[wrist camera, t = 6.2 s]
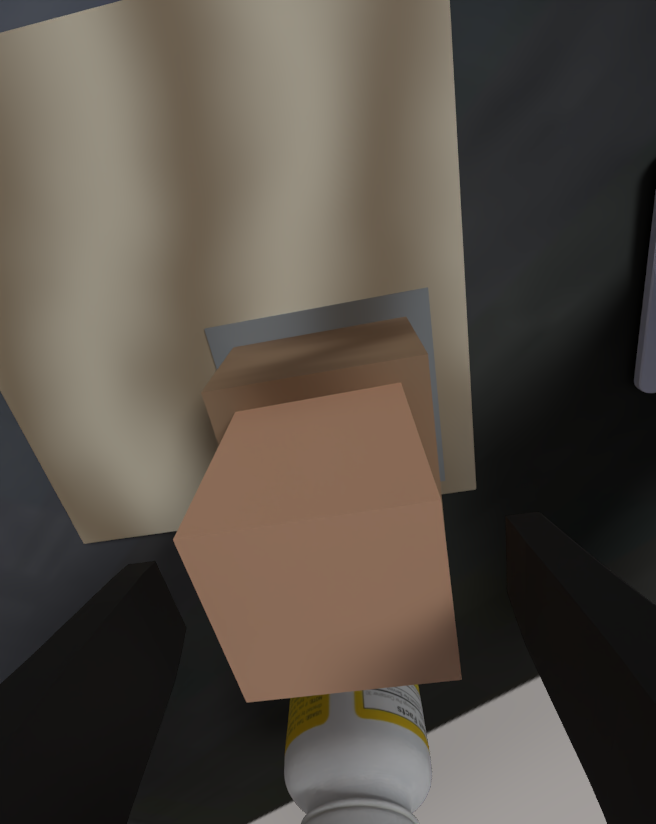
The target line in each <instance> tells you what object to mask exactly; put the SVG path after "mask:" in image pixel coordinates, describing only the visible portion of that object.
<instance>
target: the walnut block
mask: <svg viewBox="0 0 656 824" xmlns="http://www.w3.org/2000/svg"><path fill="white" fill-rule="evenodd" d="M395 383H401V384H402V387H403V390H404V393H405V396H406V399H407V402H408V405H409V408H410V410H411V413H412V416H413V419H414V422H415V425H416V428H417V431H418V434H419V437H420V440H421V443H422V446H423V448H424V451H425V454H426V457H427V460H428V463H429V466H430V469H431V472H432V475H433V478H434V481H435V484H436V486H437V489H438V492H439V495H440V498H441V503H442V495H441V484H440V474H439V463H438V453H437V443H436V432H435V422H434V411H433V401H432V390H431V380H430V369H429V359H428V353H427V351H426V350H425V348H424V346H423V344H422V343H421V341H420V339H419V338H418V336H417V334H416V332H415V331H414V329H413V327H412V326H411V324H410V322H409V320H408V319H407V317H400V318H394V319H389V320H383V321H378V322H372V323H367V324H361V325H355V326H350V327H344V328H339V329H333V330H327V331H322V332H316V333H311V334H305V335H300V336H294V337H288V338H283V339H277V340H272V341H266V342H261V343H255V344H249V345H244V346H238V347H233V348H232V350H231V351H230V353H229V354H228V355H227V357H226V358H225V360H224V361H223V362H222V364H221V365H220V367H219V368H218V369H217V371H216V372H215V374H214V375H213V376H212V378H211V379H210V381H209V382H208V383H207V385H206V386H205V388H204V389H203V391H202V392H201V394H202V397H203V400H204V403H205V406H206V409H207V412H208V415H209V418H210V421H211V424H212V427H213V430H214V433H215V436H216V439H217V442H218V445H219V444H220V442H221V440H222V438H223V436H224V434H225V432H226V430H227V428H228V426H229V424H230V422H231V420H232V417H233V415H234V413H235V412H238V411H244V410H249V409H255V408H261V407H266V406H272V405H277V404H283V403H289V402H294V401H300V400H305V399H311V398H317V397H322V396H328V395H333V394H339V393H345V392H350V391H356V390H361V389H367V388H373V387H378V386H384V385H389V384H395ZM442 512H443V505H442ZM443 521H444V516H443ZM444 529H445V526H444Z"/></svg>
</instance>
